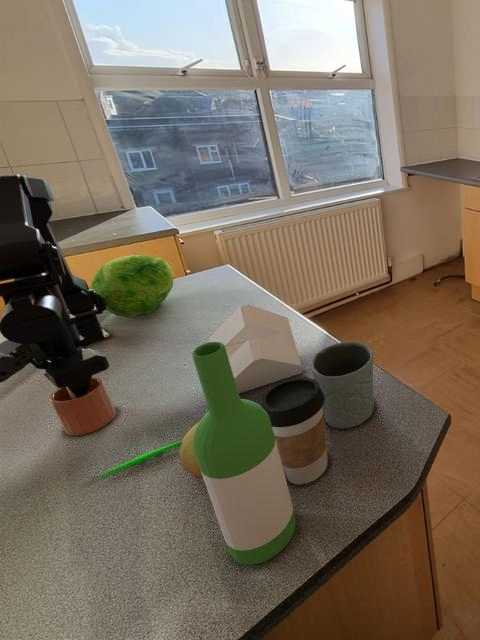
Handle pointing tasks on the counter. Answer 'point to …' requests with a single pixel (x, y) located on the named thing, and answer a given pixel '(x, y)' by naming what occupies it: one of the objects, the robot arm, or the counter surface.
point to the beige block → (258, 347)
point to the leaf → (142, 458)
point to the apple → (189, 454)
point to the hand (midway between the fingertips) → (79, 394)
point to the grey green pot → (345, 383)
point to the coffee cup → (298, 427)
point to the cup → (84, 408)
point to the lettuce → (133, 284)
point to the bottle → (240, 464)
